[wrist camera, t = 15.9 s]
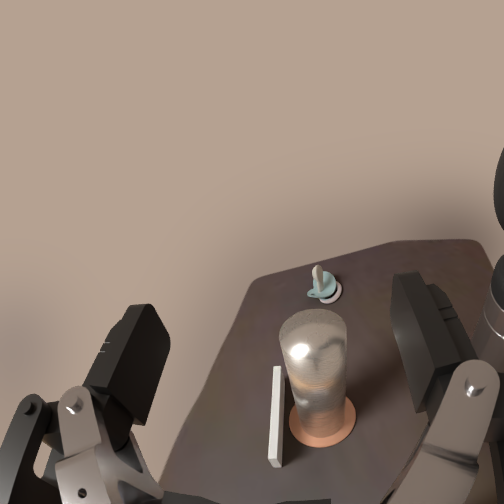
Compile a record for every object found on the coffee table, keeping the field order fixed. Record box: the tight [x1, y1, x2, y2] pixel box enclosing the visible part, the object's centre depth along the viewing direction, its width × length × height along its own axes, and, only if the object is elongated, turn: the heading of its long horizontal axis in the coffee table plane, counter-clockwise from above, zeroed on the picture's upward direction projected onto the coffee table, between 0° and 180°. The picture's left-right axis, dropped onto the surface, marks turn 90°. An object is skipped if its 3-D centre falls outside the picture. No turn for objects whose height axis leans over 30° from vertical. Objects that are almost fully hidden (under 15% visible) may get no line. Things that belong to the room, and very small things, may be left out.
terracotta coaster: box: [289, 397, 356, 448], centre depth 35 cm, size 9×9×1 cm
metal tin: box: [279, 309, 347, 438], centre depth 31 cm, size 6×6×18 cm
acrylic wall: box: [268, 366, 285, 467], centre depth 36 cm, size 14×1×4 cm, turn 175°
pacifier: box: [307, 265, 342, 304], centre depth 55 cm, size 7×6×6 cm
